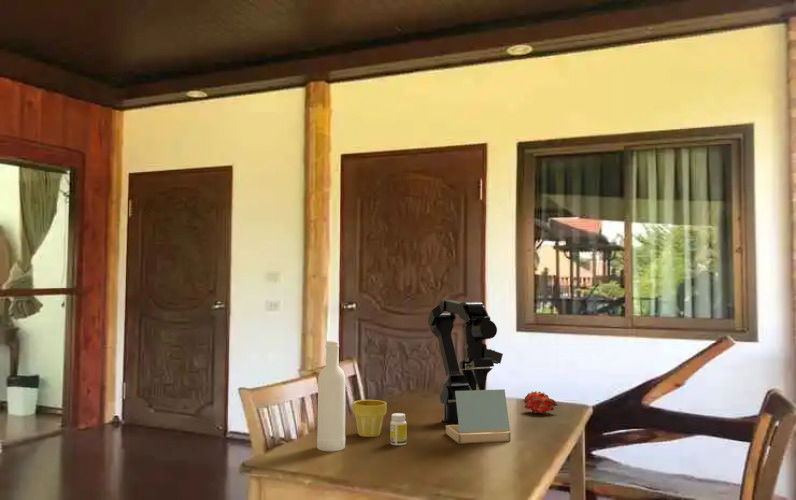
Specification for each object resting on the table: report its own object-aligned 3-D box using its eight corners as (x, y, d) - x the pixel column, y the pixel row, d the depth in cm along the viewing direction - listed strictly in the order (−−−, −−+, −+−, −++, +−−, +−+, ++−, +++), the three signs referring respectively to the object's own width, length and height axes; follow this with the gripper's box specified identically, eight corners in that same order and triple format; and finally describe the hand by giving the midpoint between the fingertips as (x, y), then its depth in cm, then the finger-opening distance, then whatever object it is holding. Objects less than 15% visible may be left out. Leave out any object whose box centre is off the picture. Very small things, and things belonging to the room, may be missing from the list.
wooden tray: (445, 433, 203) (445, 425, 203) (494, 431, 207) (494, 423, 207) (458, 443, 191) (458, 435, 191) (510, 441, 194) (510, 432, 194)
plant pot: (392, 432, 204) (392, 401, 204) (377, 440, 194) (377, 406, 195) (362, 429, 208) (362, 398, 209) (346, 436, 199) (346, 403, 199)
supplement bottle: (408, 442, 192) (408, 413, 192) (403, 446, 187) (403, 416, 188) (393, 441, 193) (393, 412, 194) (387, 444, 189) (388, 415, 189)
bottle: (313, 446, 187) (315, 340, 188) (340, 443, 190) (341, 339, 191) (321, 452, 180) (323, 342, 181) (349, 450, 183) (350, 341, 184)
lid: (455, 391, 196) (455, 390, 195) (504, 389, 199) (504, 389, 199) (459, 433, 191) (460, 433, 190) (509, 431, 194) (510, 431, 194)
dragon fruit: (521, 415, 239) (554, 423, 234) (519, 405, 232) (554, 413, 228) (526, 395, 243) (559, 402, 239) (525, 384, 237) (558, 391, 232)
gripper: (508, 338, 200) (512, 390, 197) (490, 342, 218) (494, 390, 215) (472, 339, 198) (476, 392, 195) (457, 343, 217) (461, 392, 213)
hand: (478, 391), depth 205 cm, fingers open, 9 cm apart
